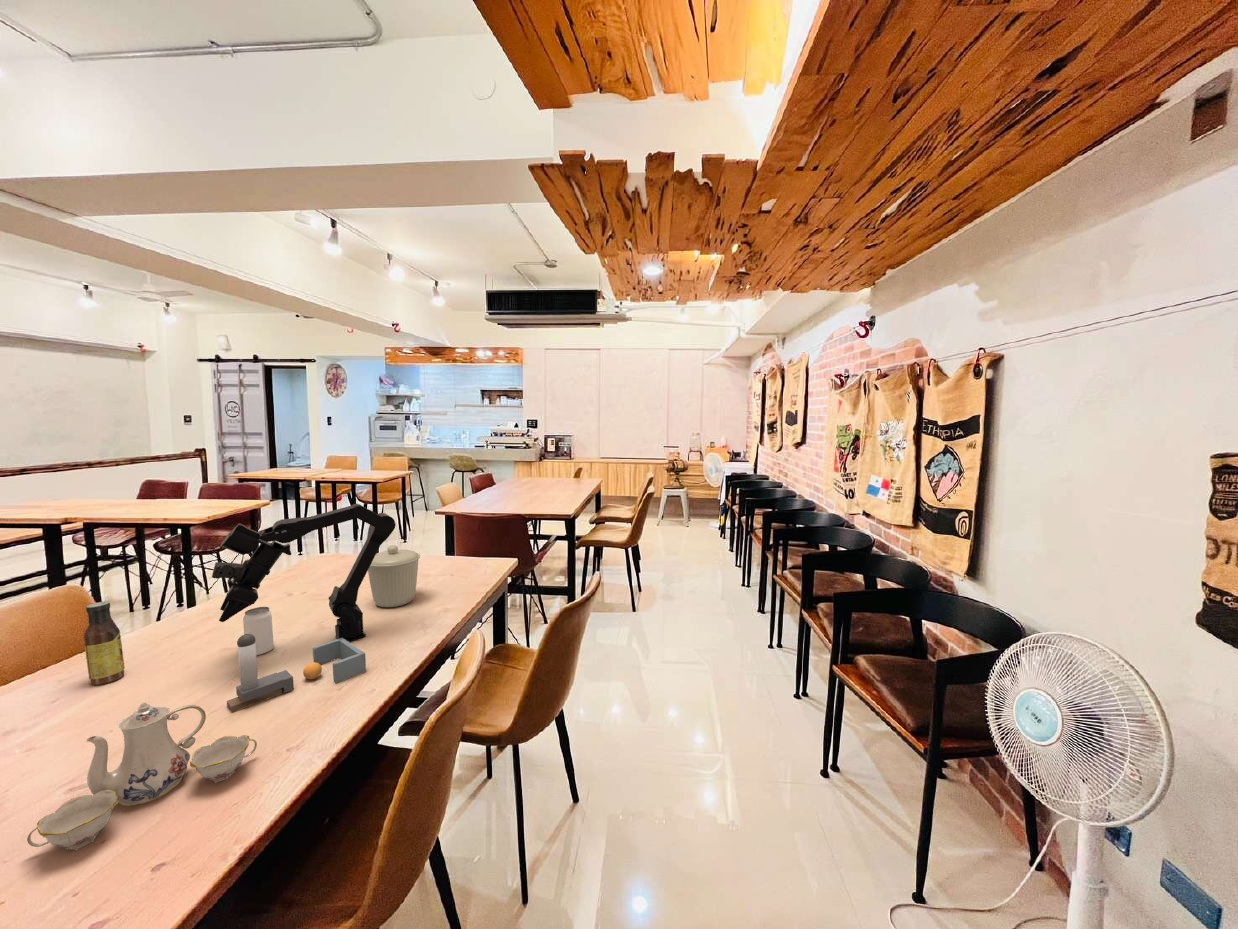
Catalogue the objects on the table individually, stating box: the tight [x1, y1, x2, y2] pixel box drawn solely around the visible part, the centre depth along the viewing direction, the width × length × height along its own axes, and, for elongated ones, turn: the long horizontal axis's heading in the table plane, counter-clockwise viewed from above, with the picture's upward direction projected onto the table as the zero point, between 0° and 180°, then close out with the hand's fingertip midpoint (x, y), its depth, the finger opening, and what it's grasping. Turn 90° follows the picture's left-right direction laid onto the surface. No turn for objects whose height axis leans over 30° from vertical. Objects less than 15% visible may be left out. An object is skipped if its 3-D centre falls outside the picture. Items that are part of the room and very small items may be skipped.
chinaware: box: [26, 702, 258, 851], centre depth 83 cm, size 28×17×17 cm, turn 148°
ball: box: [302, 662, 323, 680], centre depth 122 cm, size 4×4×4 cm
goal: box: [312, 638, 367, 684], centre depth 126 cm, size 7×14×5 cm, turn 51°
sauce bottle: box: [83, 601, 125, 686], centre depth 120 cm, size 6×6×20 cm
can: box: [242, 606, 275, 657], centre depth 135 cm, size 6×6×12 cm
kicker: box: [235, 633, 295, 702], centre depth 113 cm, size 10×5×16 cm, turn 141°
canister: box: [367, 544, 421, 608], centre depth 171 cm, size 18×18×21 cm
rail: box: [226, 688, 283, 713], centre depth 112 cm, size 10×4×1 cm, turn 141°
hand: (221, 615), depth 125 cm, fingers open, 9 cm apart
